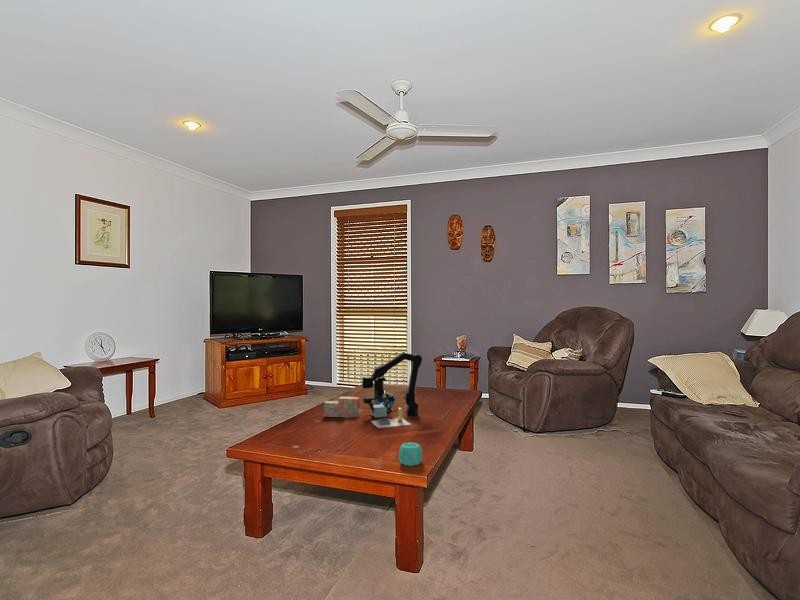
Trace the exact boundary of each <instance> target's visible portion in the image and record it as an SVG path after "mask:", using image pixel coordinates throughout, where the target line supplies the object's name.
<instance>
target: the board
mask: <svg viewBox="0 0 800 600" xmlns="http://www.w3.org/2000/svg"><path fill="white" fill-rule="evenodd" d="M370 423H372V424H373V425H374V426H375V427H377V428H378V429H383V428H392V427H401V426H410V425H411V423H410V422H409V421H407V420H406V419H404V418H403V422H398V417H395V418H387V417H384V418H378V419H377V420H371V421H370Z"/></svg>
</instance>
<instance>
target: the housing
mask: <svg viewBox="0 0 800 600" xmlns="http://www.w3.org/2000/svg"><path fill="white" fill-rule="evenodd" d="M373 409H374V414H372V411H371V410H370V414H371V416H373V417H374V418H378V419H379V418H387V416H388V414H387V412H388V406H387V407H385V406H384V404H382V403H381V404H373Z"/></svg>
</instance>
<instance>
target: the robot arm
mask: <svg viewBox="0 0 800 600" xmlns="http://www.w3.org/2000/svg"><path fill="white" fill-rule="evenodd" d="M405 360H406V361H409V362H410V365H411V369H410V375H409V380H408V387H407V390H406V391H403V401H404V403H405V404H406V405H407V407H406V410H405V411H406V412H405V415H406V416H409V417H416V416H419V404H418V403H417V402H416V394H415V389H416V384H417V380H418V379H417V377H418V372H419V369H420V366H421V364H422V361H423V358H422V356H421V355H420V354H418V353H413V354H411V353H406V352H401V353H400V354H398V355H397V356H395V357H394V358H392V359H391V360H389V361H388V362H386V363H384V364H381V365H379V366H377V367H375V368H374V369H373V373H372V374H371V376H370V377H366V376H363V377H362V380H361V381H362V382H361V388H362V390H363V389H373V393H374V394H373V397H370V396H363V399H362V402H363V403H364V404H366V405H368V406H369V407H370V412H371V411H372V414H374V409H373V405H374V402H378V403H381V404H382V403H383V405H384V406H385V407H387V408H388V406H389V404H392V402H394V401H395V397H394V396H393V395H392V394H389V392H388V393H385V390H384V382H386V381H387V378H385V375H386V374H387V373H388V371H389V370H391V369H392V368H394V367H395V366H397V365H398V364H400V363H402V362H403V361H405Z"/></svg>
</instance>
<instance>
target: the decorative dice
mask: <svg viewBox="0 0 800 600" xmlns="http://www.w3.org/2000/svg"><path fill="white" fill-rule="evenodd" d="M422 456H423V449H422V447H421V445H420V444H419V443H416V442H403V444H402V445H400V447H399V451H398V460H399V462H400V463H401V465H403V464H404V466H406V465H408V466H407V467H415V465H416V466H418V465H420V464H421V461H422V458H423V457H422Z"/></svg>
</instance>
